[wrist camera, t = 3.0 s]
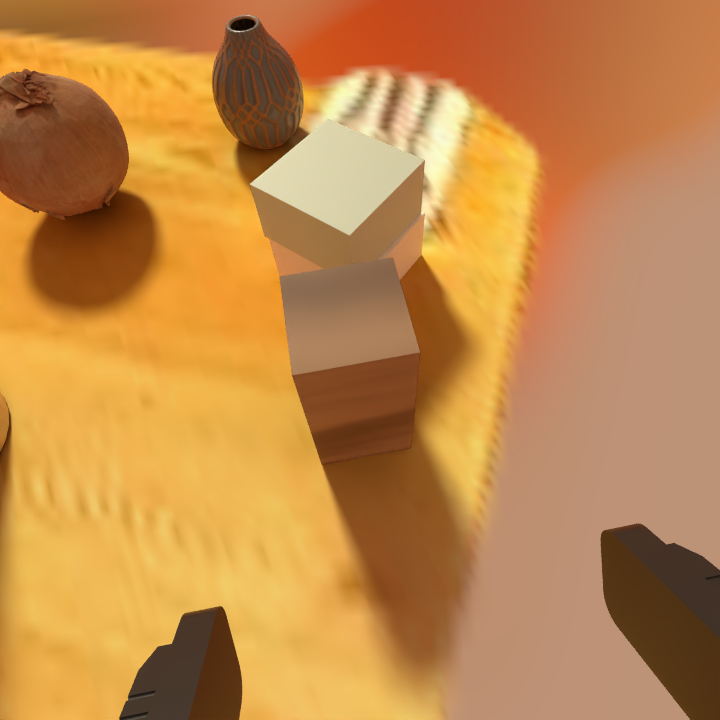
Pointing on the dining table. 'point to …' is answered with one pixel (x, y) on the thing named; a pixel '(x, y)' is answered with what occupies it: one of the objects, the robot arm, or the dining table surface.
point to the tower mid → (339, 196)
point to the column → (352, 358)
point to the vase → (256, 85)
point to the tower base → (401, 251)
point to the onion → (58, 145)
